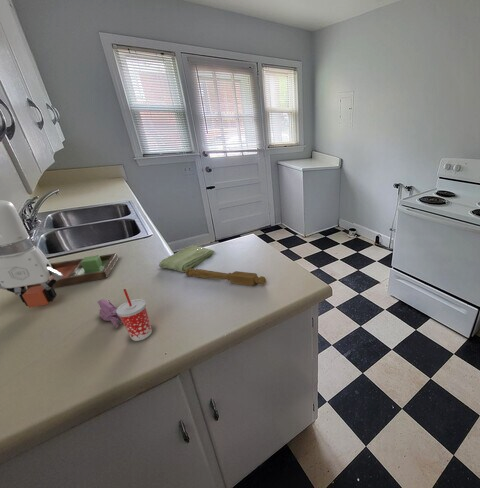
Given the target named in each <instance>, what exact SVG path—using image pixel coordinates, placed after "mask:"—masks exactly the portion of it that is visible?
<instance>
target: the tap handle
mask: <svg viewBox="0 0 480 488" xmlns="http://www.w3.org/2000/svg"><path fill="white" fill-rule="evenodd" d="M184 272H185V276H186V277H195V278H200V279H201V278H202V279H203V278H204V279H216V280H226V281H228V282H229V281H230V282H231V283H232V284H233V285H242V286H250V287H253V286H255V285H257V284H258V285H261V286H263V285H265V284H266V282H267V277H265V276H263V275H261V276H258V275H257V273H255V272H247V271H237V270H235V271H232V272H228V273H227V272H220V271H215V270H208V269H199V268H193V267H192V268H188V269H186V271H184Z"/></svg>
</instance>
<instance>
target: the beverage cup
mask: <svg viewBox="0 0 480 488" xmlns="http://www.w3.org/2000/svg"><path fill="white" fill-rule="evenodd" d="M123 292H124V296H125V299H126V302H124V303H123V302H122V303H121V304H120V305H119V306H118V307H116V308H117V310H116V313H117V315H118V316H119V317H120V321H122V324H123V325H124V327H125V330H126V331H127V333H128V335H129V337H130V339H131V340H132V341H134V342H139V341H142V340H143V341H144V340H146V339H147V338H148V337H150V336H151V334H152V332H153V329H152V325H151V322H150V319H149V314H148V311H147V303H146V302H147V301H146V300H144V299H141V298H136V299H131V300H130V297H129V294H128V291H127V289H126V288H123Z"/></svg>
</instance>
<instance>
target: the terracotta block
mask: <svg viewBox="0 0 480 488" xmlns="http://www.w3.org/2000/svg"><path fill="white" fill-rule="evenodd" d="M27 289H28V288H27ZM44 291H45V289H44V288H43V287H42V286H35V287H30V288H29V289H28V290H27V291H26V292H25V293H24V294H23V295H22V296H23V298H24V300H25V302H26V303H27V305H28V306H27V307H28V308H34V307H40V306H46V305H49V304H50V302H49V301H48V299H47V297H46V295H45V293H44Z"/></svg>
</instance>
